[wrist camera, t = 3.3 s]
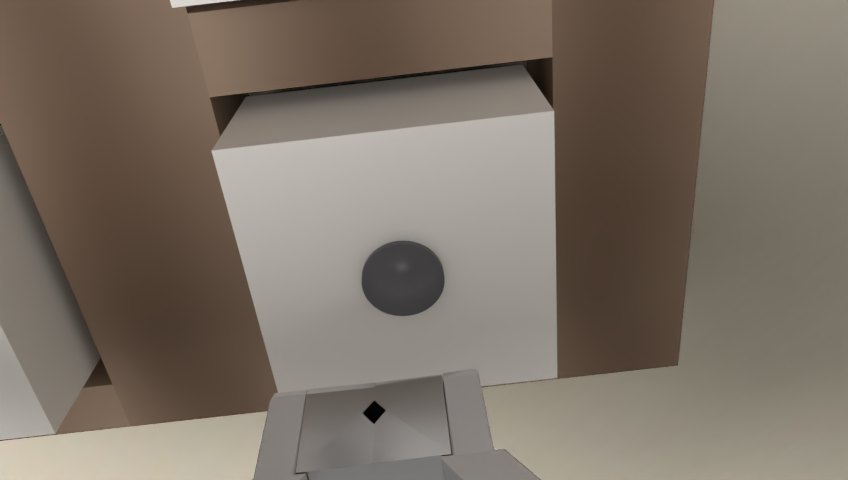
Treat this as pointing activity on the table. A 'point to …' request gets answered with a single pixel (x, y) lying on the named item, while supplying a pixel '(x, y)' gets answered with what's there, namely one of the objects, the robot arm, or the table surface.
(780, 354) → the table surface
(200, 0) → the button three dots
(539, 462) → the table surface
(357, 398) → the robot arm
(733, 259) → the table surface
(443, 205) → the button one dot
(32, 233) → the button two dots
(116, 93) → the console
